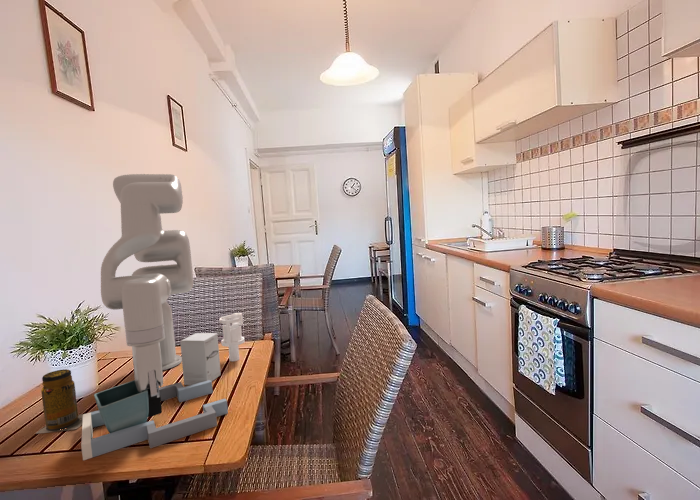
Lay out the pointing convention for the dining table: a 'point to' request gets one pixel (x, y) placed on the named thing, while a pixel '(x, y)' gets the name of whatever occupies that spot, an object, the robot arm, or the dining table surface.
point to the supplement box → (200, 358)
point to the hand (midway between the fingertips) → (153, 414)
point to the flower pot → (123, 406)
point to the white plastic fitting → (232, 334)
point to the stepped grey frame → (148, 429)
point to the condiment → (59, 402)
